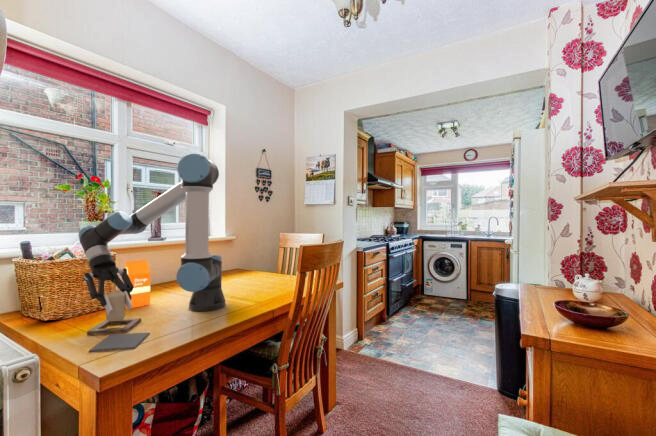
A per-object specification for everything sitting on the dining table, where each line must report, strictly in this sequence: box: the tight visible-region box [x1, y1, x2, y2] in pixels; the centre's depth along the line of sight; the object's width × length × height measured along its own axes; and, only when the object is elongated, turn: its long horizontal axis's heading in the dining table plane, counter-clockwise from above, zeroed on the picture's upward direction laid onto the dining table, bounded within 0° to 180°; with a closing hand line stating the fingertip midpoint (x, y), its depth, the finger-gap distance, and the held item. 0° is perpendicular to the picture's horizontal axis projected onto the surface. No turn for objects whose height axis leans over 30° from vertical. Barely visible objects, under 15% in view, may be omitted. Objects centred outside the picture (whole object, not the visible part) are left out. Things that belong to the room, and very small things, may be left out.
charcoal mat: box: [88, 331, 150, 353], centre depth 95 cm, size 12×12×1 cm
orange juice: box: [123, 259, 151, 309], centre depth 138 cm, size 8×9×20 cm
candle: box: [105, 289, 126, 322], centre depth 108 cm, size 6×6×10 cm
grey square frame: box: [86, 317, 142, 336], centre depth 108 cm, size 12×12×1 cm
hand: (120, 309), depth 106 cm, fingers closed on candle, 5 cm apart
